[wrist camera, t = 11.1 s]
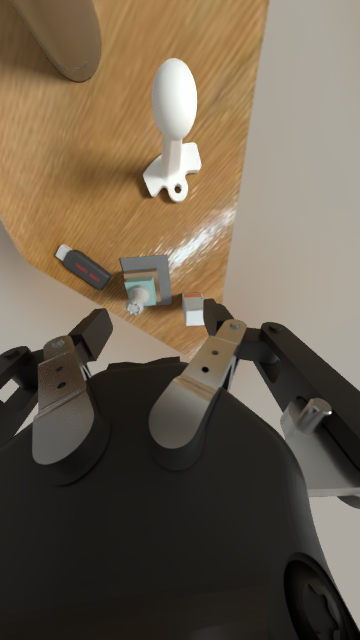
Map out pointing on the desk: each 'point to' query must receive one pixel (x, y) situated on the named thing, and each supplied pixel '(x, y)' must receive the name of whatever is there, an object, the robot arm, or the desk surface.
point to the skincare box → (193, 308)
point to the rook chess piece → (137, 299)
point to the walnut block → (146, 273)
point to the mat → (149, 263)
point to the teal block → (145, 282)
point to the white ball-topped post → (173, 129)
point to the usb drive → (83, 267)
